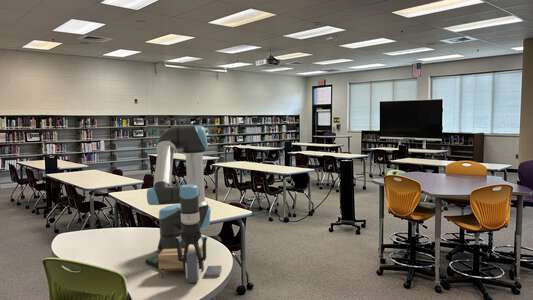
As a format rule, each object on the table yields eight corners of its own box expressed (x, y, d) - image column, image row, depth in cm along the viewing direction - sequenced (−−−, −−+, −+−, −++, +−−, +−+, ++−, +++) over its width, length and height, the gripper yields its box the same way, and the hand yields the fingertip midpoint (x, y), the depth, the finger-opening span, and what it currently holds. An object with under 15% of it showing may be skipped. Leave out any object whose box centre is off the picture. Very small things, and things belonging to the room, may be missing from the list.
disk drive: (181, 265, 185) (163, 258, 195) (180, 259, 184) (163, 252, 194) (162, 272, 177) (144, 264, 187) (161, 266, 177) (144, 258, 187)
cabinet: (164, 270, 177) (163, 246, 176) (203, 269, 177) (202, 245, 176) (159, 277, 169) (157, 252, 168) (200, 276, 169) (199, 251, 168)
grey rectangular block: (194, 269, 175) (192, 243, 173) (202, 269, 175) (201, 243, 173) (187, 282, 162) (186, 254, 160) (197, 282, 162) (196, 254, 160)
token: (208, 271, 175) (208, 265, 175) (221, 271, 175) (221, 265, 174) (206, 277, 169) (205, 271, 169) (219, 277, 169) (219, 270, 168)
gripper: (167, 225, 158) (170, 280, 160) (209, 224, 157) (212, 279, 159) (172, 220, 165) (175, 273, 167) (212, 219, 165) (215, 272, 167)
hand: (193, 276), depth 163 cm, fingers closed on grey rectangular block, 4 cm apart
